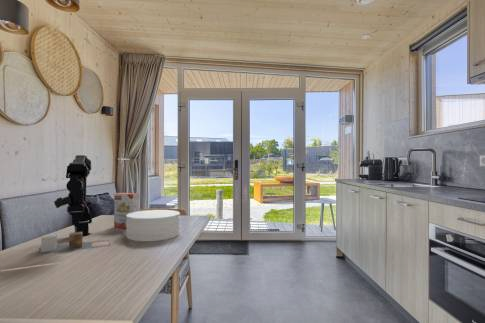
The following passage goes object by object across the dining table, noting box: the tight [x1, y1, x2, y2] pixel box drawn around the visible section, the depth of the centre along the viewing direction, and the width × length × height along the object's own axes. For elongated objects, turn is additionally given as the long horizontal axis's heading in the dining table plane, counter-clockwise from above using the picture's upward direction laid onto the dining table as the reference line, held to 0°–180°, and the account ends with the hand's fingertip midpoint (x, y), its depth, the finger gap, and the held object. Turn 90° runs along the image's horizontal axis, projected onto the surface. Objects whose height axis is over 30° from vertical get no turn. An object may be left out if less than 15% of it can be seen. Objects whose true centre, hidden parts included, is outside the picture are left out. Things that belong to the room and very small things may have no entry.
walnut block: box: [68, 231, 83, 249], centre depth 124 cm, size 5×5×6 cm
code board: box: [35, 239, 111, 256], centre depth 124 cm, size 28×12×1 cm, turn 119°
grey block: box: [40, 233, 58, 252], centre depth 120 cm, size 5×5×6 cm
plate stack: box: [125, 209, 181, 242], centre depth 150 cm, size 28×28×12 cm
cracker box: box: [113, 192, 140, 229], centre depth 168 cm, size 14×6×21 cm, turn 73°
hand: (76, 224), depth 125 cm, fingers open, 9 cm apart
